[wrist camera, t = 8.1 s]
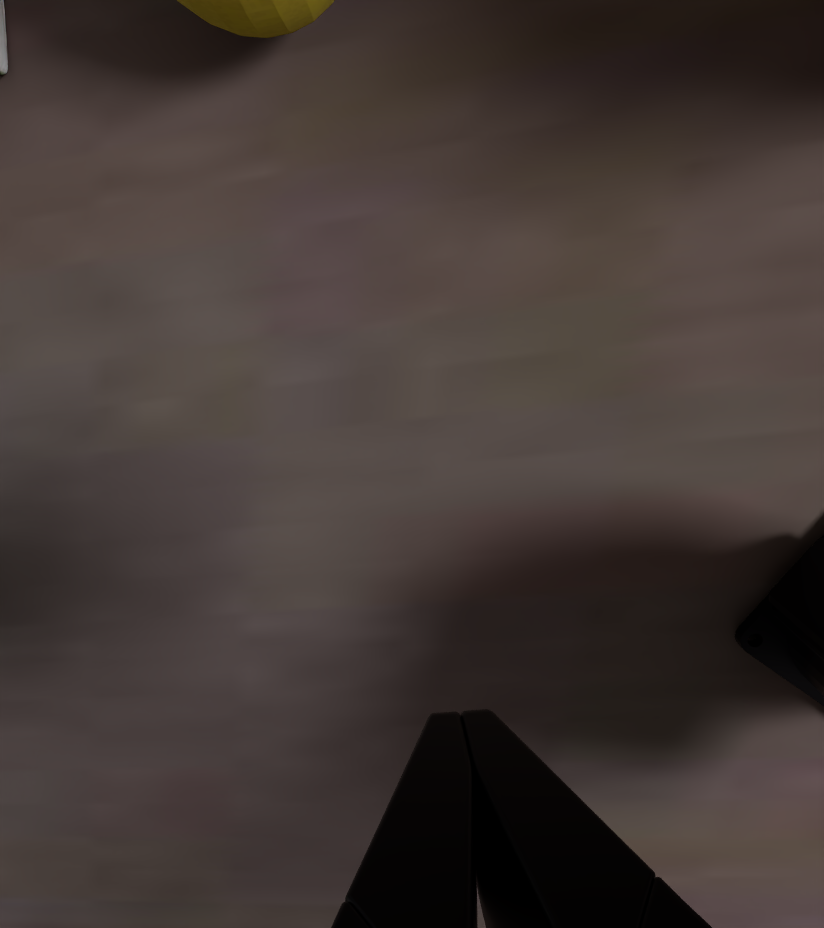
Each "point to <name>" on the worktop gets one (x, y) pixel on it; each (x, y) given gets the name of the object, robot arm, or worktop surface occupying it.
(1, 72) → the syrup box
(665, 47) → the worktop surface
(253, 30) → the lemon
